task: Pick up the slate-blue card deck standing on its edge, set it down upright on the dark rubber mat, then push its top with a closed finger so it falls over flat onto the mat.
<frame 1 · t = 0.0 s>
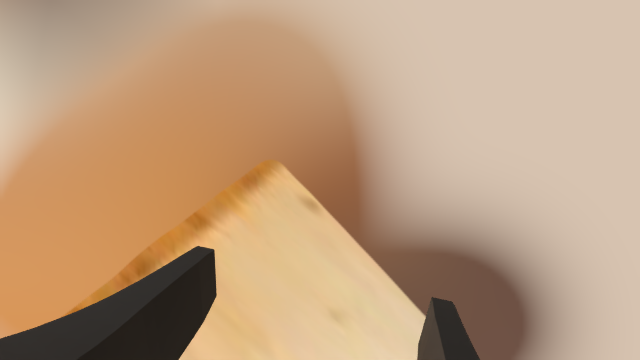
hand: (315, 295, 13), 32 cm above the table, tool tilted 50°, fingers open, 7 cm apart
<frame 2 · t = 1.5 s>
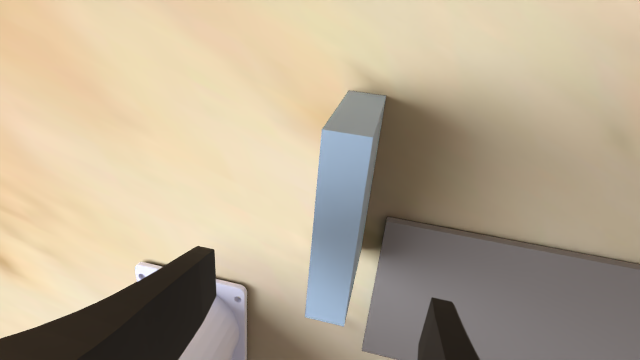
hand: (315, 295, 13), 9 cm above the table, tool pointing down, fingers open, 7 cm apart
mat: (504, 315, 22), on the table
deck: (355, 176, 21), on the table
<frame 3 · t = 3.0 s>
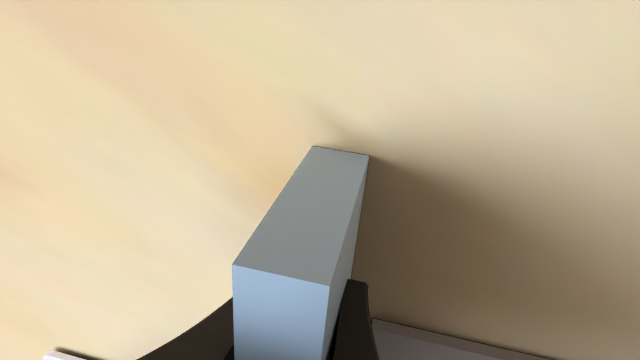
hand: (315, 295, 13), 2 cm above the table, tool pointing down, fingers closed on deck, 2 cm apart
deck: (327, 265, 14), on the table, touching gripper
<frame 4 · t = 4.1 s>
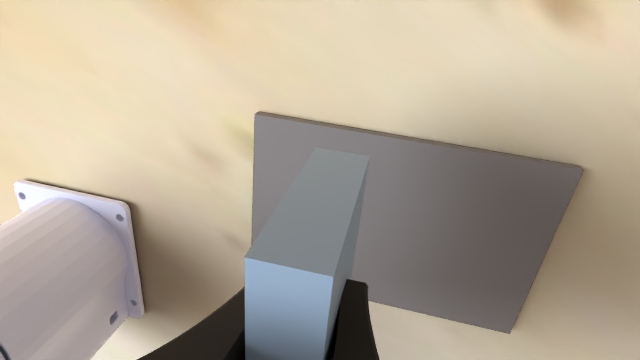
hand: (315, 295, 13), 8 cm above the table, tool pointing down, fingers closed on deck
mat: (389, 225, 21), on the table
deck: (329, 260, 15), point 6 cm above the table, touching gripper
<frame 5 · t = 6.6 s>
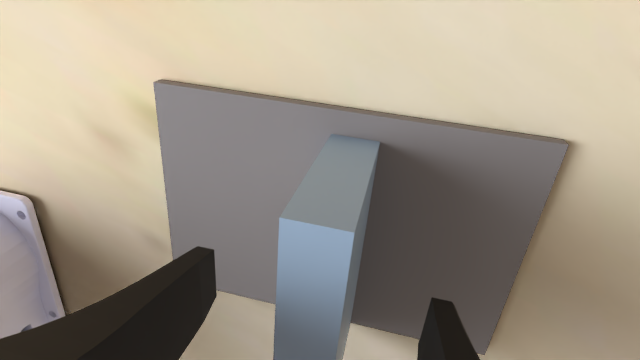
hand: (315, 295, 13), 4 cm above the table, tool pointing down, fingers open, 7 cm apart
mat: (331, 220, 17), on the table
deck: (342, 238, 16), resting on mat
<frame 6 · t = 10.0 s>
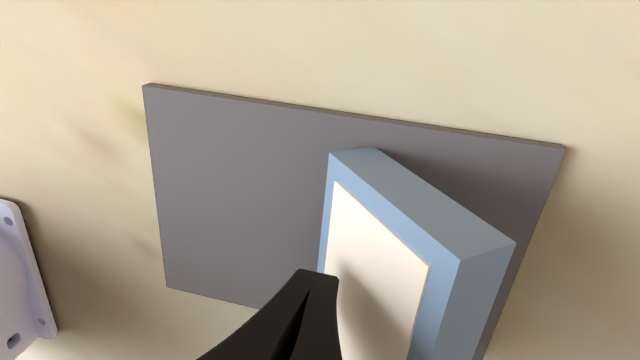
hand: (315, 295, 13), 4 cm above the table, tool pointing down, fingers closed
mat: (325, 226, 16), on the table
deck: (338, 254, 16), point 1 cm above the table, tilted 40°, touching mat
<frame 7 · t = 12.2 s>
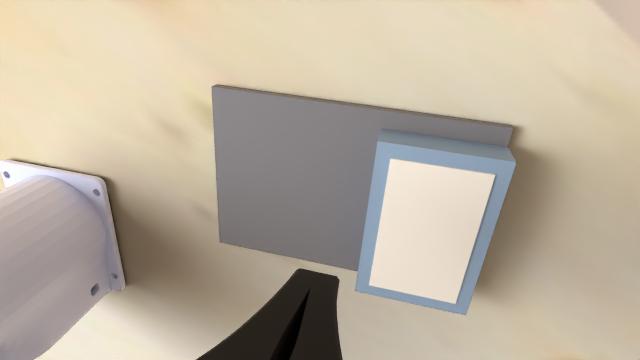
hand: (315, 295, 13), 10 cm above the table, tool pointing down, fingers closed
mat: (344, 190, 22), on the table
deck: (367, 214, 21), point 1 cm above the table, tilted 90°, touching mat
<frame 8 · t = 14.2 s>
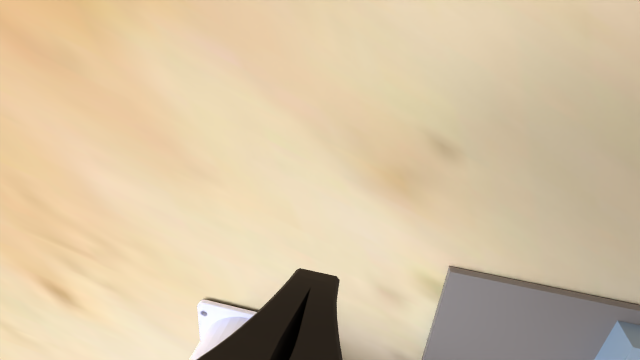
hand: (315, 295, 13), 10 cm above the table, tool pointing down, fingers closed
mat: (557, 357, 24), on the table
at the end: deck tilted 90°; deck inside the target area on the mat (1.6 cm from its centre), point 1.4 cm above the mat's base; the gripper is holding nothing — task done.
